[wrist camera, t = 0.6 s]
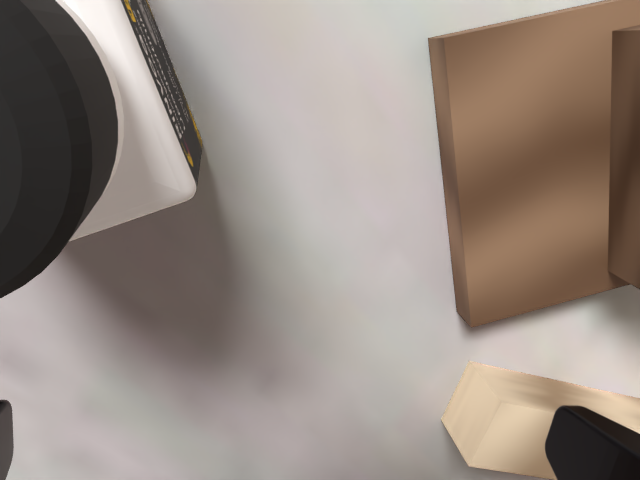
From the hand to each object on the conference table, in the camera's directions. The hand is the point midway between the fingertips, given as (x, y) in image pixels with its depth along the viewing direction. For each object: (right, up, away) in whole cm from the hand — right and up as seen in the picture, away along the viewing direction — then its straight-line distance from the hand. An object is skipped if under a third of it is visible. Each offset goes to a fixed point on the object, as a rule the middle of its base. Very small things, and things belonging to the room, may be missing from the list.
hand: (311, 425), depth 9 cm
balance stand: (+14, +7, +14) cm, 21 cm away
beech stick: (+17, -7, +21) cm, 28 cm away
